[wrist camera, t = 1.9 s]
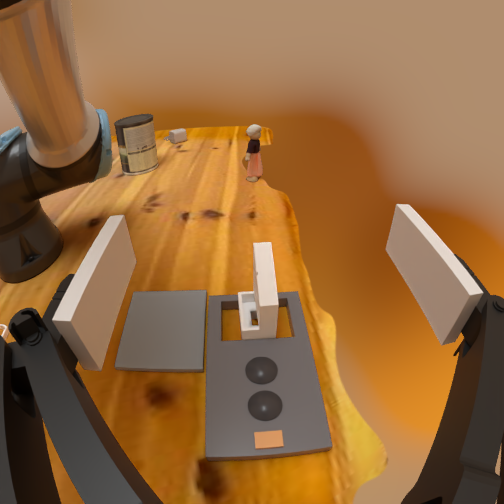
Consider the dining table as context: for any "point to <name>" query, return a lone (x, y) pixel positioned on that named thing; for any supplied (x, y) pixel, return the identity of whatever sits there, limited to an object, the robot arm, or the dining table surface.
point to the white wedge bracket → (260, 297)
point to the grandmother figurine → (254, 154)
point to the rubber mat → (164, 332)
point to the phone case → (5, 332)
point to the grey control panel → (262, 391)
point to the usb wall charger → (177, 136)
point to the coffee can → (137, 144)
